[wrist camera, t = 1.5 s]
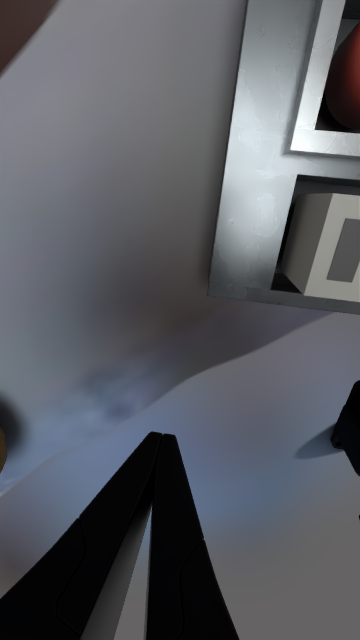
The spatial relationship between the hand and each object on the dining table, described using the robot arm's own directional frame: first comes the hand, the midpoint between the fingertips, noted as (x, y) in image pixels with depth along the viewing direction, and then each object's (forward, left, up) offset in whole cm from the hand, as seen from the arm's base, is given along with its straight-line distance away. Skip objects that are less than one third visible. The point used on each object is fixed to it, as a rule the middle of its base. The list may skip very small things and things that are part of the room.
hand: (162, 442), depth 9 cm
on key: (-7, -6, -10) cm, 14 cm away
